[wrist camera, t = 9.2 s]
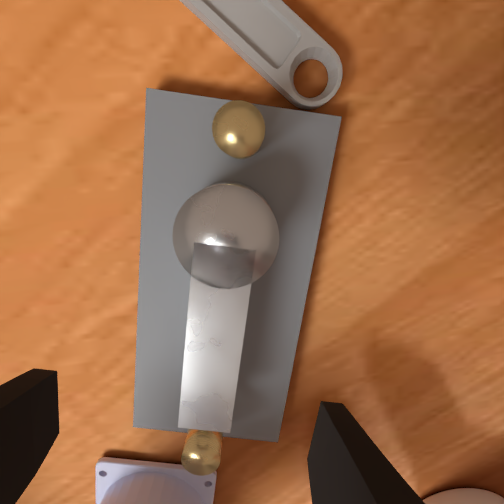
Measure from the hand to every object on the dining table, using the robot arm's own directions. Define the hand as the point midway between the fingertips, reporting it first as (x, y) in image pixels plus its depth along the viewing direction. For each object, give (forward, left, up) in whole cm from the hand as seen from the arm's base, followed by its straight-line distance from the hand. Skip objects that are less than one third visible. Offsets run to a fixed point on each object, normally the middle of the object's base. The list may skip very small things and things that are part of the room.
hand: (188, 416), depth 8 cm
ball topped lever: (0, 0, -8) cm, 8 cm away
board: (0, 0, -9) cm, 9 cm away
